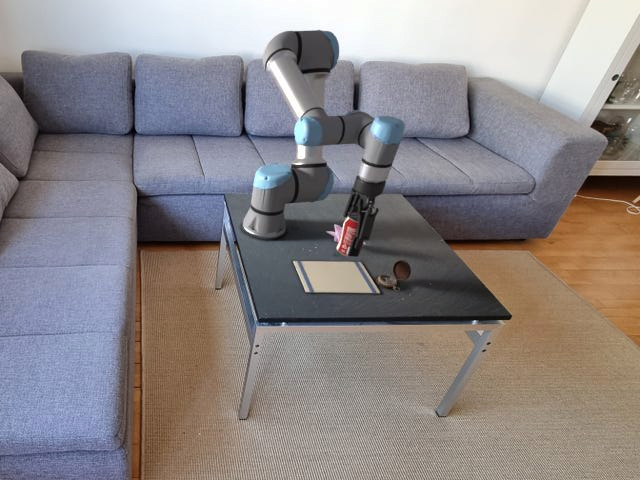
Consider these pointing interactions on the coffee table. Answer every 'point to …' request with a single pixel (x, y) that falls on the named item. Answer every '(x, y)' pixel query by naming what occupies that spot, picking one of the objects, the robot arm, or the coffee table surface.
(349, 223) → the soda can
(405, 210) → the coffee table surface
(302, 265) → the cloth
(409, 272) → the compass
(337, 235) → the lily
